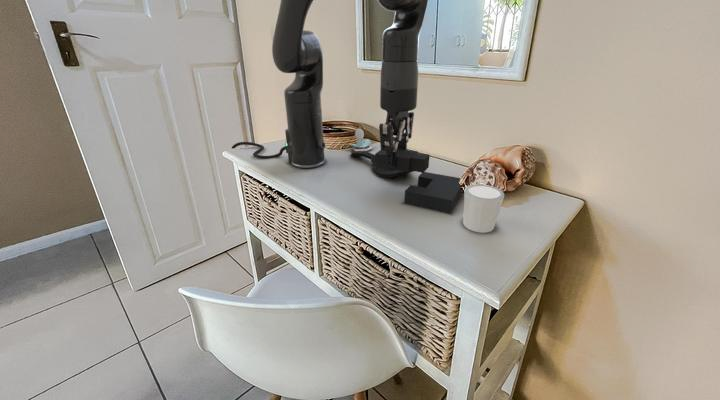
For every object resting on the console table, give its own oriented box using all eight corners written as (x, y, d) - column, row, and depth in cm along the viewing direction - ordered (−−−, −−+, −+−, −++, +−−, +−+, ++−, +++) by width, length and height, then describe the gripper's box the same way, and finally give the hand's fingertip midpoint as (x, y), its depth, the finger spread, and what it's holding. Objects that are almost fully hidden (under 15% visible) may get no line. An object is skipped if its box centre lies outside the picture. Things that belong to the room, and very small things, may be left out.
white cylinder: (503, 223, 63) (510, 190, 60) (488, 238, 59) (495, 204, 56) (469, 212, 67) (474, 180, 64) (453, 225, 63) (457, 192, 60)
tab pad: (375, 166, 75) (375, 153, 73) (384, 158, 79) (385, 146, 78) (422, 174, 70) (423, 161, 69) (429, 166, 74) (431, 153, 73)
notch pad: (404, 203, 71) (404, 190, 70) (422, 182, 81) (422, 171, 79) (450, 213, 67) (452, 200, 66) (463, 190, 76) (465, 178, 75)
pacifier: (376, 150, 103) (365, 144, 108) (377, 130, 100) (365, 125, 105) (356, 154, 100) (346, 149, 104) (356, 134, 97) (346, 129, 101)
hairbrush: (363, 142, 100) (423, 161, 82) (363, 154, 102) (422, 176, 83) (340, 148, 96) (398, 169, 77) (341, 160, 98) (398, 184, 79)
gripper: (395, 79, 74) (393, 151, 82) (366, 88, 63) (367, 171, 71) (427, 81, 71) (422, 156, 79) (403, 91, 60) (399, 177, 68)
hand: (396, 163), depth 75 cm, fingers closed on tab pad, 5 cm apart
